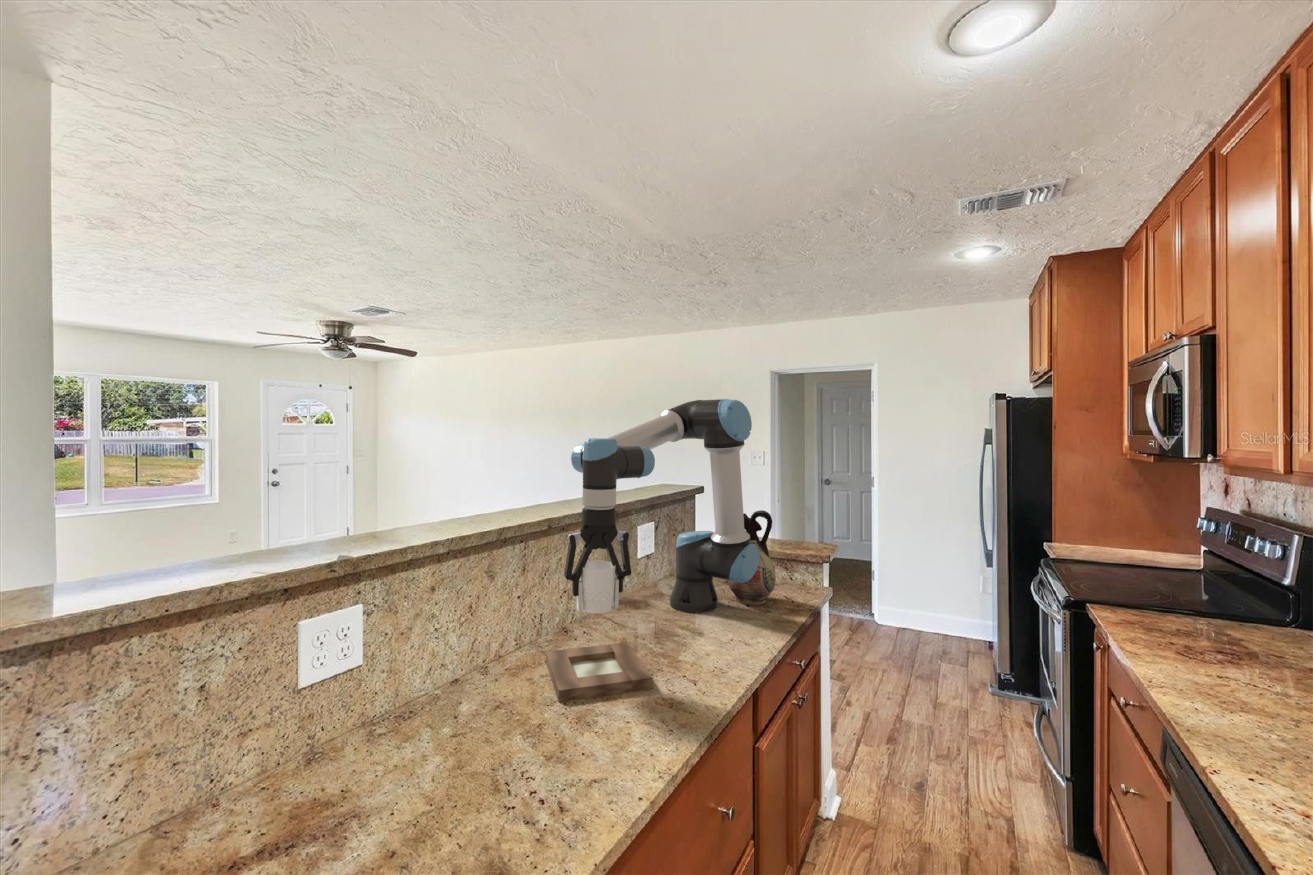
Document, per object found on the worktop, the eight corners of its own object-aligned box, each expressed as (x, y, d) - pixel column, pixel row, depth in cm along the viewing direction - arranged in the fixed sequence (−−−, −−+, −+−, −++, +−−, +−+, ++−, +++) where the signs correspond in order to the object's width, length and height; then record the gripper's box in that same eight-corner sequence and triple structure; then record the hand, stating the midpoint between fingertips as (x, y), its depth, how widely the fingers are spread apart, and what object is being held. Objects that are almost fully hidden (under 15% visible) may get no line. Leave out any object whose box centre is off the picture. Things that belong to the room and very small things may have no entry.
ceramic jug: (723, 606, 174) (725, 511, 173) (731, 592, 188) (732, 504, 188) (778, 612, 169) (780, 514, 168) (781, 597, 183) (784, 507, 183)
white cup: (598, 617, 119) (598, 571, 118) (572, 609, 123) (572, 565, 123) (622, 608, 125) (622, 564, 125) (596, 601, 130) (597, 558, 129)
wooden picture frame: (627, 652, 137) (627, 642, 137) (652, 688, 118) (652, 677, 118) (545, 661, 131) (545, 651, 130) (558, 702, 112) (558, 690, 112)
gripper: (637, 503, 130) (636, 599, 131) (550, 505, 124) (549, 607, 124) (647, 508, 123) (645, 609, 124) (555, 510, 117) (554, 618, 117)
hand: (597, 608), depth 124 cm, fingers closed on white cup, 7 cm apart
